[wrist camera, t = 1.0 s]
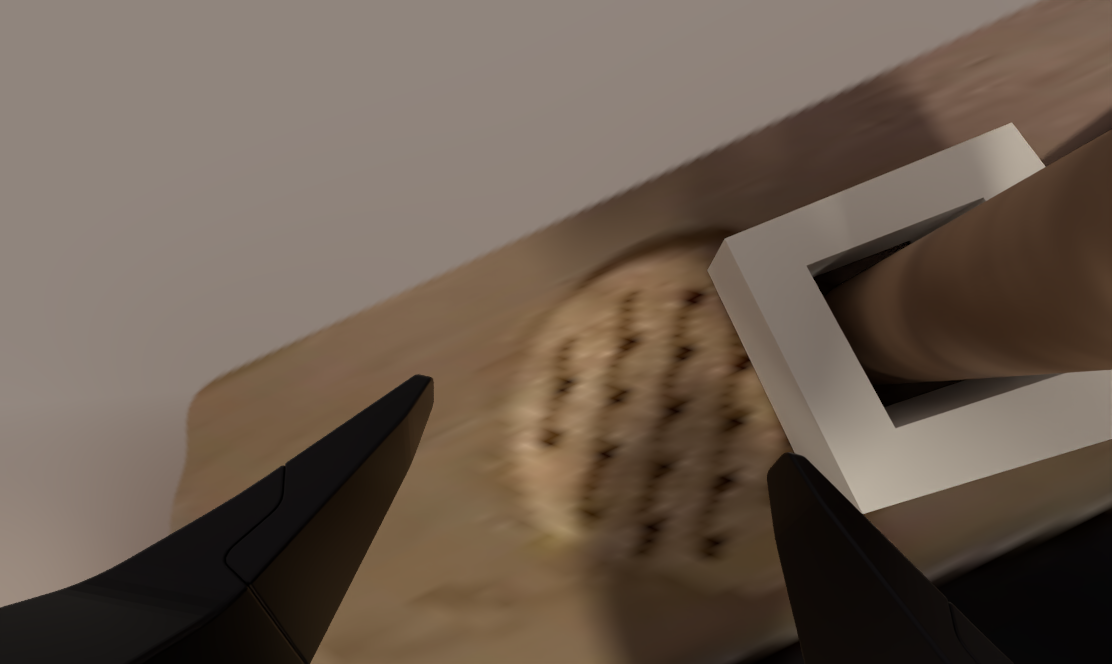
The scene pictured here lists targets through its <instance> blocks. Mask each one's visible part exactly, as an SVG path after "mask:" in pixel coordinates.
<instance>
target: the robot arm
mask: <svg viewBox="0 0 1112 664" xmlns="http://www.w3.org/2000/svg"><path fill="white" fill-rule="evenodd" d="M433 402H434V382H433V378H431V377H429V376H424V375H419V374H417V375H414V376H413V377H411V378H410V379H408V380H407V381H405V382H404V383H402V384H401V385H399V386H398V387H397V388H395V389H394V390H392V391H391V392H389V393H388V394H386V395H385V396H383V397H382V398H380V399H379V400H377V401H376V402H375V403H373V404H372V405H370V406H369V407H367V408H366V409H364V410H363V411H361V412H360V413H358V414H357V415H355V416H354V417H353V418H351V419H350V420H348V421H347V422H345V423H344V424H342V425H341V426H339V427H338V428H336V429H335V430H333V431H332V432H331V433H329V434H328V435H326V436H325V437H323V438H322V439H320V440H319V441H317V442H316V443H314V444H313V445H311V446H310V447H309V448H307V449H306V450H304V451H303V452H301V453H300V454H298V455H297V456H295V457H294V458H292V459H291V460H290V461H288V462H287V463H286V464H285V466H280V467H279V468H278V469H276V470H275V471H273V472H272V473H270V474H269V475H267V476H266V477H264V478H263V479H261V480H260V481H258V482H257V483H255V484H254V485H252V486H251V487H249V488H247V489H246V490H244V491H243V492H241V493H240V494H238V495H237V496H235V497H233V498H232V499H230V500H228V501H227V502H225V503H223V504H222V505H220V506H218V507H217V508H215V509H213V510H212V511H210V512H208V513H207V514H205V515H203V516H202V517H200V518H198V519H196V520H195V521H193V522H191V523H189V524H188V525H186V526H184V527H183V528H181V529H179V530H177V531H176V532H174V533H172V534H170V535H169V536H167V537H166V538H164V539H162V540H160V541H158V542H157V543H155V544H153V545H151V546H150V547H148V548H146V549H145V550H143V551H141V552H139V553H138V554H136V555H135V556H132V557H131V558H129V559H127V560H125V561H124V562H122V563H120V564H118V565H116V566H114V567H113V568H111V569H109V570H107V571H105V572H103V573H101V574H98V575H97V576H94V577H92V578H89V579H87V580H85V581H82V582H80V583H78V584H75V585H73V586H70V587H67V588H64V589H61V590H58V591H55V592H52V593H49V594H45V595H41V596H38V597H35V598H32V599H28V600H25V601H21V602H18V603H14V604H11V605H8V606H4V607H1V608H0V664H310V663H311V661H312V659H313V657H314V655H315V653H316V651H317V649H318V647H319V645H320V643H321V641H322V639H323V637H324V635H325V633H326V631H327V629H328V627H329V625H330V623H331V621H332V619H333V617H334V615H335V613H336V611H337V610H338V608H339V606H340V604H341V602H342V600H343V598H344V596H345V594H346V592H347V590H348V588H349V586H350V584H351V582H352V580H353V578H354V576H355V574H356V572H357V570H358V568H359V566H360V564H361V562H362V560H363V558H364V556H365V554H366V552H367V551H368V549H369V547H370V545H371V543H372V541H373V539H374V537H375V535H376V533H377V531H378V529H379V527H380V525H381V523H382V521H383V519H384V517H385V515H386V513H387V511H388V509H389V507H390V505H391V503H392V501H393V499H394V497H395V495H396V493H397V491H398V490H399V488H400V486H401V484H402V482H403V480H404V478H405V476H406V474H407V472H408V470H409V468H410V465H411V463H412V461H413V458H414V456H415V453H416V450H417V448H418V445H419V442H420V440H421V437H422V434H423V431H424V429H425V426H426V423H427V421H428V418H429V415H430V413H431V410H432V407H433ZM767 483H768V490H769V498H770V505H771V513H772V520H773V528H774V534H775V540H776V545H777V549H778V553H779V558H780V562H781V566H782V570H783V574H784V579H785V583H786V587H787V591H788V595H789V600H790V604H791V608H792V612H793V616H794V620H795V625H796V629H797V633H798V637H799V641H800V646H801V650H802V654H803V658H804V662H805V664H1014V663H1013V662H1012V661H1011V660H1010V659H1009V658H1008V657H1006V656H1005V655H1004V654H1003V653H1002V652H1001V651H1000V650H999V649H998V648H997V647H996V646H995V645H994V644H993V643H992V642H991V641H990V640H989V639H988V638H987V637H986V636H985V635H984V634H983V633H982V632H980V631H979V630H978V629H977V628H976V627H975V626H974V625H973V624H972V623H971V622H970V621H969V620H968V619H967V618H966V617H965V616H964V615H963V614H962V613H961V612H960V611H959V610H958V609H957V608H956V607H955V606H954V605H953V604H952V603H951V602H948V599H947V598H946V597H945V596H944V595H943V594H942V593H941V592H940V591H939V590H938V589H937V588H936V587H935V586H934V585H933V584H932V583H931V582H930V581H929V580H928V579H927V578H926V577H925V576H924V575H923V574H922V573H921V572H920V571H919V570H918V569H917V568H916V567H915V566H914V565H913V564H912V563H911V562H910V561H909V560H908V559H907V558H906V557H905V556H904V555H903V554H902V553H901V552H900V551H899V550H898V549H897V548H896V547H895V546H894V545H893V544H892V543H891V542H890V541H889V540H888V539H887V538H886V537H885V536H884V535H883V534H882V533H881V532H880V531H879V530H878V529H877V528H876V527H875V526H874V525H873V524H872V523H871V522H870V521H869V520H868V519H867V518H866V517H865V516H864V515H863V514H862V513H861V512H860V511H859V510H858V509H857V508H856V507H855V506H854V505H853V504H852V503H851V502H850V501H849V500H848V499H847V498H846V497H845V496H844V495H843V494H842V493H841V492H840V491H839V490H838V489H837V488H836V487H835V486H834V485H833V484H832V483H831V482H830V481H829V480H828V479H827V478H826V477H825V476H824V475H823V474H822V473H821V472H820V471H819V470H818V469H817V468H816V467H815V466H814V465H813V464H812V463H811V462H810V461H809V460H808V459H807V458H805V457H804V456H802V455H799V454H794V453H790V452H786V453H784V454H782V455H781V457H780V458H779V459H778V460H777V461H776V462H775V463H774V465H773V466H772V467H771V468H770V469H769V471H768V474H767Z"/></svg>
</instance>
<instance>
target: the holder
mask: <svg viewBox="0 0 1112 664" xmlns="http://www.w3.org/2000/svg"><path fill="white" fill-rule="evenodd" d="M1043 168H1045V165H1044V164H1043V163H1042V161H1041V160H1040V159H1039V158H1038V156H1037V155H1036V154H1035V152H1034V151H1033V150H1032V148H1031V147H1030V146H1029V144H1028V143H1027V142H1026V140H1025V139H1024V138H1023V137H1022V135H1021V134H1020V133H1019V131H1018V130H1017V129H1016V127H1015V126H1014V125H1013V123H1010V124H1007V125H1005V126H1002V127H1000V128H997V129H995V130H992V131H990V132H987V133H985V134H982V135H980V136H977V137H975V138H972V139H970V140H967V141H965V142H963V143H960V144H958V145H955V146H953V147H950V148H948V149H945V150H943V151H940V152H938V153H935V154H933V155H930V156H928V157H925V158H923V159H920V160H918V161H915V162H913V163H911V164H908V165H906V166H903V167H901V168H898V169H896V170H893V171H891V172H888V173H886V174H883V175H881V176H878V177H876V178H873V179H871V180H868V181H866V182H864V183H861V184H859V185H856V186H854V187H851V188H849V189H846V190H844V191H841V192H839V193H836V194H834V195H831V196H829V197H826V198H824V199H821V200H819V201H816V202H814V203H812V204H809V205H807V206H804V207H802V208H799V209H797V210H794V211H792V212H789V213H787V214H784V215H782V216H779V217H777V218H774V219H772V220H769V221H767V222H765V223H762V224H760V225H757V226H755V227H752V228H750V229H747V230H745V231H742V232H740V233H737V234H735V235H732V236H730V237H727V238H725V239H724V241H723V243H722V244H721V246H720V248H719V250H718V252H717V254H716V255H715V257H714V259H713V261H712V263H711V265H710V266H709V268H708V270H707V271H708V273H709V275H710V277H711V279H712V281H713V283H714V286H715V288H716V290H717V292H718V294H719V296H720V298H721V300H722V302H723V304H724V306H725V309H726V311H727V313H728V315H729V317H730V319H731V321H732V323H733V325H734V327H735V329H736V331H737V334H738V336H739V338H740V340H741V342H742V344H743V346H744V348H745V350H746V352H747V354H748V357H749V359H750V361H751V363H752V365H753V367H754V369H755V371H756V373H757V375H758V377H759V380H760V382H761V384H762V386H763V388H764V390H765V392H766V394H767V396H768V398H769V400H770V402H771V405H772V407H773V409H774V411H775V413H776V415H777V417H778V419H779V421H780V423H781V425H782V428H783V430H784V432H785V434H786V436H787V438H788V440H789V442H790V444H791V446H792V448H793V450H794V453H795V454H799V455H802V456H804V457H805V458H807V459H808V460H809V461H810V462H811V463H812V464H813V465H814V466H815V467H816V468H817V469H818V470H819V471H820V472H821V473H822V474H823V475H824V476H825V477H826V478H827V479H828V480H829V481H830V482H831V483H832V484H833V485H834V486H835V487H836V488H837V489H838V490H839V491H840V492H841V493H842V494H843V495H844V496H845V497H846V498H847V499H848V500H849V501H850V502H851V503H852V504H853V505H854V506H855V507H856V508H857V509H858V510H859V511H860V512H861V513H862V514H864V513H868V512H871V511H874V510H878V509H881V508H884V507H888V506H891V505H894V504H898V503H901V502H904V501H908V500H911V499H914V498H918V497H921V496H924V495H927V494H931V493H934V492H937V491H941V490H944V489H947V488H951V487H954V486H957V485H961V484H964V483H967V482H971V481H974V480H977V479H981V478H984V477H987V476H991V475H994V474H997V473H1000V472H1004V471H1007V470H1010V469H1014V468H1017V467H1020V466H1024V465H1027V464H1030V463H1034V462H1037V461H1040V460H1044V459H1047V458H1050V457H1054V456H1057V455H1060V454H1063V453H1067V452H1070V451H1073V450H1077V449H1080V448H1083V447H1087V446H1090V445H1093V444H1097V443H1100V442H1103V441H1107V440H1110V439H1112V370H1100V371H1085V372H1070V373H1055V374H1040V375H1025V376H1010V377H995V378H980V379H967V380H964V381H961V382H958V383H955V384H952V385H949V386H946V387H943V388H940V389H937V390H934V391H931V392H928V393H925V394H922V395H919V396H916V397H913V398H910V399H907V400H904V401H901V402H898V403H895V404H892V405H889V406H886V407H883V405H882V403H881V401H880V399H879V398H878V396H877V394H876V392H875V390H874V388H873V387H872V385H871V383H870V381H869V379H868V377H867V376H866V374H865V372H864V370H863V368H862V366H861V365H860V363H859V361H858V359H857V357H856V356H855V354H854V352H853V350H852V348H851V346H850V345H849V343H848V341H847V339H846V337H845V335H844V334H843V332H842V330H841V328H840V326H839V324H838V323H837V321H836V319H835V317H834V315H833V314H832V312H831V310H830V308H829V306H828V304H827V303H826V301H825V299H824V297H823V295H822V293H821V292H820V290H819V288H818V286H817V284H816V282H815V281H814V279H813V277H816V276H818V275H821V274H823V273H826V272H829V271H831V270H834V269H837V268H839V267H842V266H844V265H847V264H850V263H852V262H855V261H858V260H860V259H863V258H865V257H868V256H871V255H873V254H876V253H879V252H881V251H884V250H886V249H889V248H892V247H894V246H897V245H900V244H902V243H905V242H908V241H910V242H911V244H912V243H914V242H915V241H917V240H919V239H921V238H922V237H924V236H926V235H928V234H929V233H931V232H933V231H935V230H936V229H938V228H940V227H942V226H943V225H945V224H947V223H949V222H950V221H952V220H954V219H956V218H957V217H959V216H961V215H963V214H964V213H966V212H968V211H970V210H971V209H973V208H975V207H977V206H978V205H980V204H982V203H984V202H985V201H987V200H989V199H990V198H992V197H994V196H996V195H997V194H999V193H1001V192H1003V191H1004V190H1006V189H1008V188H1010V187H1011V186H1013V185H1015V184H1017V183H1018V182H1020V181H1022V180H1024V179H1025V178H1027V177H1029V176H1031V175H1032V174H1034V173H1036V172H1038V171H1039V170H1041V169H1043Z"/></svg>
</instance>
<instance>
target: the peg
mask: <svg viewBox="0 0 1112 664" xmlns="http://www.w3.org/2000/svg"><path fill="white" fill-rule="evenodd" d="M824 299H825V301H826V303H827V304H828V306H829V308H830V310H831V312H832V314H833V315H834V317H835V319H836V321H837V323H838V324H839V326H840V328H841V330H842V332H843V334H844V335H845V337H846V339H847V341H848V343H849V345H850V346H851V348H852V350H853V352H854V354H855V356H856V357H857V359H858V361H859V363H860V365H861V366H862V368H863V370H864V372H865V374H866V376H867V377H868V379H869V381H870V383H871V384H875V385H890V384H905V383H920V382H935V381H950V380H965V379H980V378H995V377H1010V376H1025V375H1040V374H1055V373H1070V372H1085V371H1100V370H1112V129H1111V130H1109V131H1108V132H1106V133H1104V134H1102V135H1101V136H1099V137H1097V138H1095V139H1094V140H1092V141H1090V142H1088V143H1087V144H1085V145H1083V146H1081V147H1080V148H1078V149H1076V150H1074V151H1073V152H1071V153H1069V154H1067V155H1066V156H1064V157H1062V158H1060V159H1059V160H1057V161H1055V162H1053V163H1052V164H1050V165H1048V166H1046V167H1045V168H1043V169H1041V170H1039V171H1038V172H1036V173H1034V174H1032V175H1031V176H1029V177H1027V178H1025V179H1024V180H1022V181H1020V182H1018V183H1017V184H1015V185H1013V186H1011V187H1010V188H1008V189H1006V190H1004V191H1003V192H1001V193H999V194H997V195H996V196H994V197H992V198H990V199H989V200H987V201H985V202H984V203H982V204H980V205H978V206H977V207H975V208H973V209H971V210H970V211H968V212H966V213H964V214H963V215H961V216H959V217H957V218H956V219H954V220H952V221H950V222H949V223H947V224H945V225H943V226H942V227H940V228H938V229H936V230H935V231H933V232H931V233H929V234H928V235H926V236H924V237H922V238H921V239H919V240H917V241H915V242H914V243H912V244H910V245H908V246H907V247H905V248H903V249H901V250H900V251H898V252H896V253H894V254H893V255H891V256H889V257H887V258H886V259H884V260H882V261H880V262H879V263H877V264H875V265H873V266H872V267H870V268H868V269H866V270H865V271H863V272H861V273H859V274H858V275H856V276H854V277H852V278H851V279H849V280H847V281H845V282H844V283H842V284H840V285H838V286H837V287H835V288H834V289H832V290H831V291H830V292H829V293H828V294H827V295H826V296H825V297H824Z"/></svg>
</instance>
